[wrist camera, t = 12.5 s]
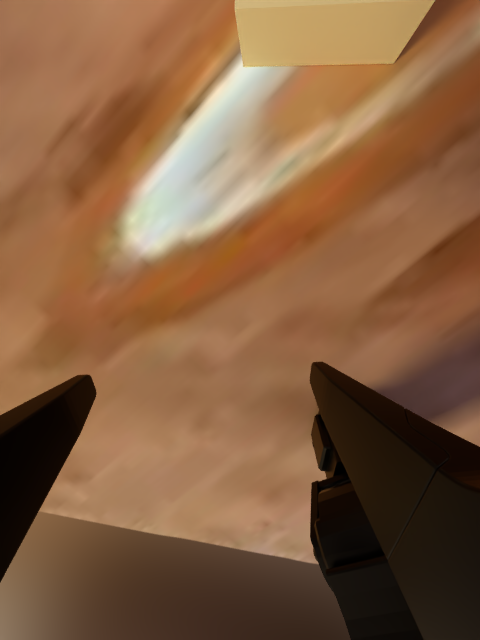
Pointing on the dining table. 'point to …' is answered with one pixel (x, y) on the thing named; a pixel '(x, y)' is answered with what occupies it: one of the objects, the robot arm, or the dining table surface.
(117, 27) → the dining table surface
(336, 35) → the collar
